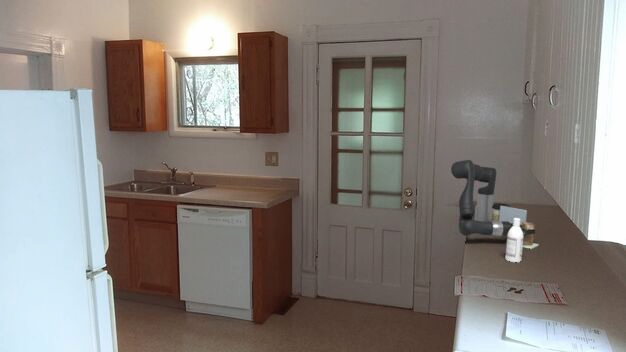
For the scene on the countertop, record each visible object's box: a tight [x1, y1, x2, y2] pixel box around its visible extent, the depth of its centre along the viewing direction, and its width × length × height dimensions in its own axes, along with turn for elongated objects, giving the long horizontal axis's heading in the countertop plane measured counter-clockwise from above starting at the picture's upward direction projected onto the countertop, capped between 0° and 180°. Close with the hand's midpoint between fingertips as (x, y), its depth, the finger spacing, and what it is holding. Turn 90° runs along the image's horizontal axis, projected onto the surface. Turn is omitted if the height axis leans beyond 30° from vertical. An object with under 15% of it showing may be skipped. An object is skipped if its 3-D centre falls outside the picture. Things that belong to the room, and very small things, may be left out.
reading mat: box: [523, 242, 539, 250], centre depth 257 cm, size 9×9×1 cm
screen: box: [499, 206, 528, 225], centre depth 270 cm, size 14×6×16 cm, turn 45°
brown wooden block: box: [522, 221, 535, 246], centre depth 256 cm, size 4×5×11 cm
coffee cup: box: [492, 202, 510, 221], centre depth 282 cm, size 10×10×15 cm
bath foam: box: [504, 218, 524, 263], centre depth 231 cm, size 7×7×20 cm
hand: (531, 229), depth 256 cm, fingers open, 8 cm apart
